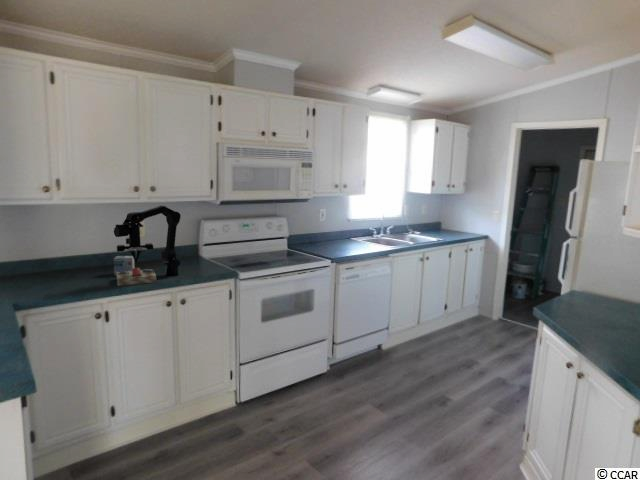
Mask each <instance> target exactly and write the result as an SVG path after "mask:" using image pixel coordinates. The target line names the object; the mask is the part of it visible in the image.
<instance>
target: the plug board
mask: <svg viewBox="0 0 640 480" xmlns="http://www.w3.org/2000/svg"><path fill="white" fill-rule="evenodd" d="M115 276H116V283H117V286H118V287H119V286H129V285H130V286H131V285H140V284H149V283H152V284H153V283H157V274H156V273H155V271H154V269H150V272H146V273H143V269H140V276H137V277H133V271H128V274H122V275H120V272H116V275H115Z"/></svg>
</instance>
